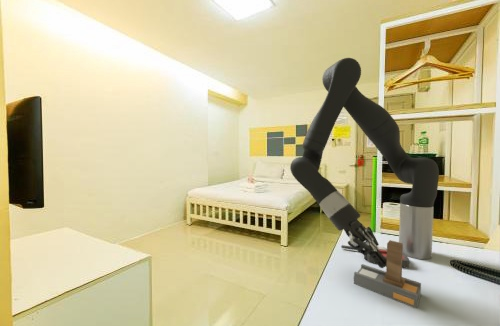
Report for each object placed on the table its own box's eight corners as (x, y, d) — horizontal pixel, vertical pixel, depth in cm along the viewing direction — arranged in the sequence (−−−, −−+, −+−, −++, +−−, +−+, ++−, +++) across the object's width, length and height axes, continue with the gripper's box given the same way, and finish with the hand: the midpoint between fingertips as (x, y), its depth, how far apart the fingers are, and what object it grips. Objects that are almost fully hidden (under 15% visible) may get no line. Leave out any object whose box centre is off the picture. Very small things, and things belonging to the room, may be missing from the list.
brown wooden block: (386, 276, 58) (387, 238, 58) (404, 282, 55) (406, 243, 55) (382, 282, 55) (383, 243, 55) (401, 289, 52) (403, 248, 52)
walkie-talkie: (404, 257, 74) (340, 248, 81) (405, 245, 74) (341, 237, 81) (414, 271, 66) (342, 259, 73) (414, 256, 66) (342, 246, 73)
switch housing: (362, 273, 64) (362, 263, 64) (420, 293, 54) (421, 282, 54) (353, 283, 59) (353, 273, 58) (416, 308, 49) (416, 296, 49)
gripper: (338, 206, 58) (391, 269, 50) (356, 199, 67) (403, 250, 59) (319, 222, 62) (365, 282, 54) (338, 213, 71) (380, 263, 63)
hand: (385, 265), depth 57 cm, fingers closed
